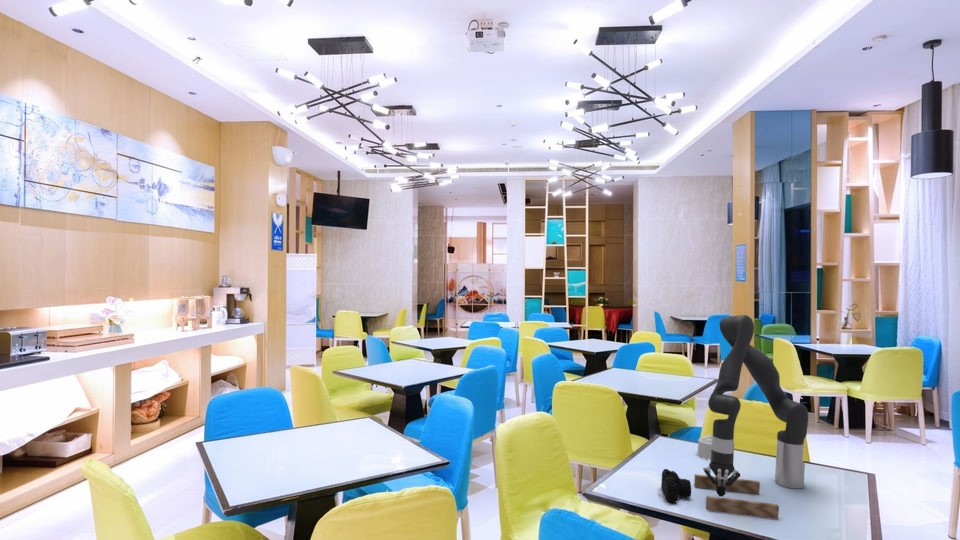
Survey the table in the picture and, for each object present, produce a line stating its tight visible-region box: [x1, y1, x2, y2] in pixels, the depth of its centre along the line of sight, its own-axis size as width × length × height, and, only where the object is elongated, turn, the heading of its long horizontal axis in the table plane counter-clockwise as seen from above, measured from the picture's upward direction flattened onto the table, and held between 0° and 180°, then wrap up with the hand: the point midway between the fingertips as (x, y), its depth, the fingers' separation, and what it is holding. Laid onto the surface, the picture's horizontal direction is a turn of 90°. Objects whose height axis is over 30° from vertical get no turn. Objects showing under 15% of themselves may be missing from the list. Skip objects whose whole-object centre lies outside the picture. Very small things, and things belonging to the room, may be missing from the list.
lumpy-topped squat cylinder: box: [697, 434, 713, 461], centre depth 237 cm, size 10×13×9 cm
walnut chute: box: [693, 473, 780, 520], centre depth 192 cm, size 23×21×4 cm
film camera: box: [660, 468, 692, 505], centre depth 195 cm, size 15×10×9 cm, turn 169°
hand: (720, 495), depth 193 cm, fingers closed
